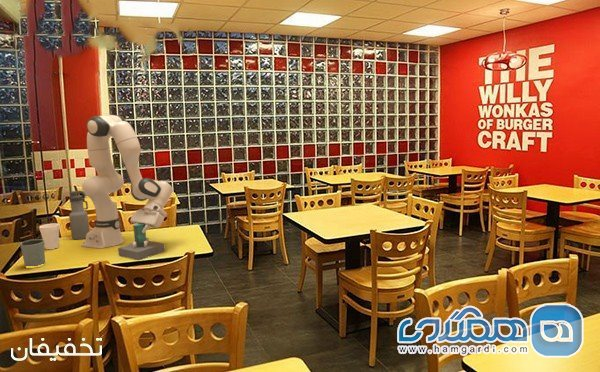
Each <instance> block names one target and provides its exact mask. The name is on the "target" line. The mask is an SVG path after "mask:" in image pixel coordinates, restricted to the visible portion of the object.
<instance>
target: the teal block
mask: <svg viewBox="0 0 600 372" xmlns="http://www.w3.org/2000/svg"><path fill="white" fill-rule="evenodd" d="M144 227H145V224H136V225H135V224H133V235H134V239H135V240H134V242H136V245H143V244H144V241H146V238H147V234H146V232H147V231H146V232H145V233H144V234H143V233H141V230H142V229H143V228H144Z"/></svg>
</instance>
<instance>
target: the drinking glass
mask: <svg viewBox="0 0 600 372" xmlns="http://www.w3.org/2000/svg"><path fill="white" fill-rule="evenodd" d="M20 249H21V254H22V258H23V263H24V267H25V266H38V265H41V264H44V263H45V264H46V255H45V253H46V252H45V250H46V248H45V245H44V240H43V238H36V239H28V240H24V241H22V242H20Z"/></svg>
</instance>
